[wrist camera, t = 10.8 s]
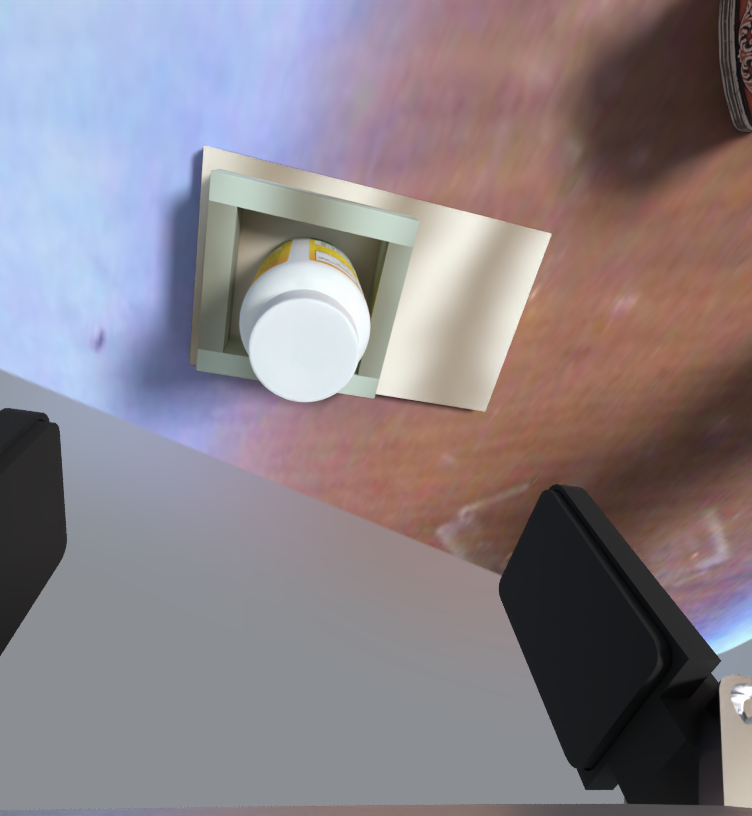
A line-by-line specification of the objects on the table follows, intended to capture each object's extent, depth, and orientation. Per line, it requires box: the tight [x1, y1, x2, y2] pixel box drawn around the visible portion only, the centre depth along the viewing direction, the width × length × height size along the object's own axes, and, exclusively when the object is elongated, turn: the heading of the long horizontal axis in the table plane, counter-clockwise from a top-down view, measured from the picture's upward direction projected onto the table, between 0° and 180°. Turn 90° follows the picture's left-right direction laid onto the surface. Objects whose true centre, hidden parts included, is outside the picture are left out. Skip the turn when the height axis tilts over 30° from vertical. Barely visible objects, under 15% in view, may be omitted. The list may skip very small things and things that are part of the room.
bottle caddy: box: [189, 146, 551, 411], centre depth 26 cm, size 18×11×3 cm, turn 77°
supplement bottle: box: [239, 237, 371, 402], centre depth 21 cm, size 5×5×10 cm
